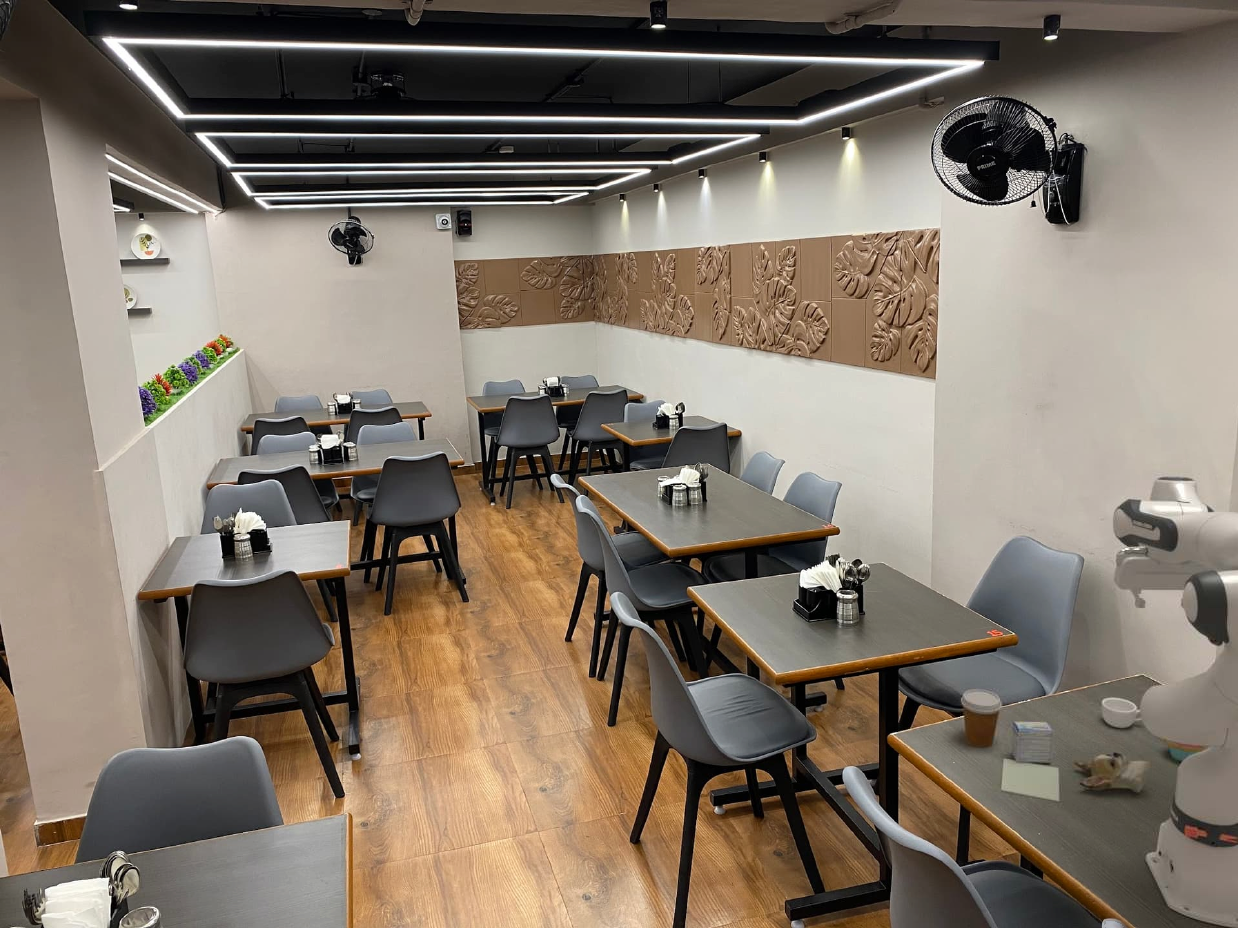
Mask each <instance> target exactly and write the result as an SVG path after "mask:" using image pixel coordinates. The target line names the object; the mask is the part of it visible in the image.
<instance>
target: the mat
mask: <svg viewBox="0 0 1238 928" xmlns="http://www.w3.org/2000/svg"><path fill="white" fill-rule="evenodd" d="M1059 772H1060V771H1059V767H1055V766H1049V765H1044V764H1043V765H1042V764H1038V763H1033V762H1017V761H1016V759H1008V758H1003V763H1002V773H1001V788H1000V792H1005V793H1008V794H1016V795H1020V796H1026V797H1031V798H1036V799H1041V800H1047V801H1051V802H1056V803H1060V779H1059V778H1060V773H1059Z"/></svg>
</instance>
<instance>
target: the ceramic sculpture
mask: <svg viewBox="0 0 1238 928" xmlns="http://www.w3.org/2000/svg"><path fill="white" fill-rule="evenodd" d="M1073 764H1074V765H1075V766H1077V767H1078V768H1079V769H1081V770H1082V771H1084V772H1086V773H1088V774H1091V776H1088V777H1087V778H1086V779H1084V781H1080V782H1079V783H1078V785H1079V786H1081V787H1084V788H1086V789H1089V790H1094V791H1102V790H1106V789H1130V790H1132V792H1135V793H1138V794H1139V793H1140V792H1141V790H1142V789H1143V787H1144V785H1145V784H1146V782H1147V781H1148V778H1149V775H1150V768H1151V762H1150V761H1145V760H1144V761H1143V760H1133V761H1129V760H1128V759H1127V757H1126V756H1125V755H1122V754H1121V753H1118V752H1113V753H1112V754H1109V753H1107V754H1103V753H1101V754H1099V755H1097V756H1096V757H1094V758H1093V760H1089V761H1085V762H1079V761H1073Z"/></svg>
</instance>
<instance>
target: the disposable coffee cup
mask: <svg viewBox="0 0 1238 928" xmlns="http://www.w3.org/2000/svg"><path fill="white" fill-rule="evenodd" d="M960 702H961V704H962V709H963V719H964V731H965V740H966V741H967V743H968V744H970V745H971V746H974V747H979V748H988V747H991V746H992V745H993V744H994V739H995V733H996V729H997V724H998V719H999V713H1000V711H1001V708H1002V707H1003V704H1002V703H1003V702H1002V701H1001V699H1000V697H999V695H998V694H996V693H994V692H992V691H989V690H986V689H985V690H984V689H977V688H975V689H969V690H967V691H964V693H963V695H962V697H961V699H960Z"/></svg>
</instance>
